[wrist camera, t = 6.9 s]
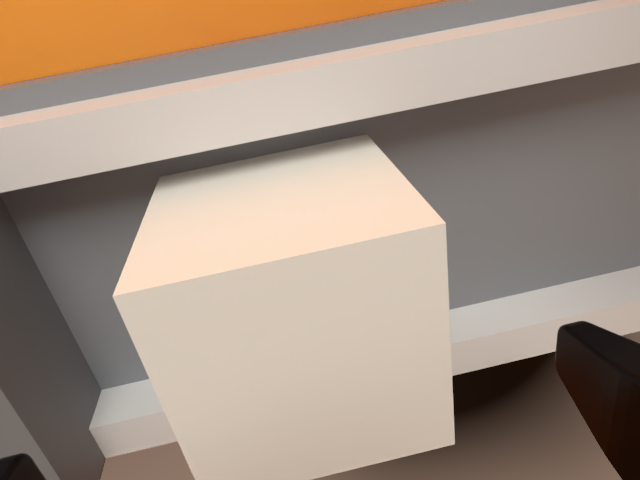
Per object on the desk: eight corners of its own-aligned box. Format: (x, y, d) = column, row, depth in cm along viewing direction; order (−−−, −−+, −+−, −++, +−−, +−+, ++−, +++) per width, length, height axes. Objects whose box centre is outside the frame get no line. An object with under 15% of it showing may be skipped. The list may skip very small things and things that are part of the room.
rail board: (941, -95, 12) (1243, -129, 9) (812, 245, 17) (971, 317, 13) (-119, 108, 11) (-303, 172, 7) (66, 419, 16) (14, 554, 12)
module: (366, 134, 12) (445, 222, 7) (387, 305, 14) (455, 448, 10) (159, 177, 11) (112, 296, 7) (216, 344, 14) (208, 510, 9)
